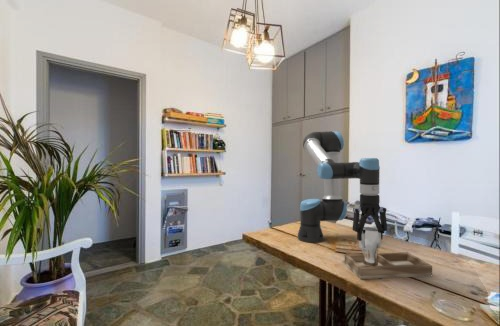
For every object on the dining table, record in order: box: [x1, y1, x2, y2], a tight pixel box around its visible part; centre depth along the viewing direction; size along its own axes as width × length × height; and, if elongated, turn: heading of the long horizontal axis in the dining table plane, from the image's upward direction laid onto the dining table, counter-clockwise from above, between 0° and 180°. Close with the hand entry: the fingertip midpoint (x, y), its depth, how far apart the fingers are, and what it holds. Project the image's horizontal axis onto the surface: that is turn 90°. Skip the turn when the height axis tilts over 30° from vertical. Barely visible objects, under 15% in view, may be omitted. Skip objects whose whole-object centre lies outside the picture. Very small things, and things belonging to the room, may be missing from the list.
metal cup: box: [362, 226, 379, 266], centre depth 103 cm, size 7×7×15 cm
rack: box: [344, 251, 433, 280], centre depth 103 cm, size 14×30×4 cm, turn 93°
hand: (369, 247), depth 103 cm, fingers closed on metal cup, 7 cm apart
